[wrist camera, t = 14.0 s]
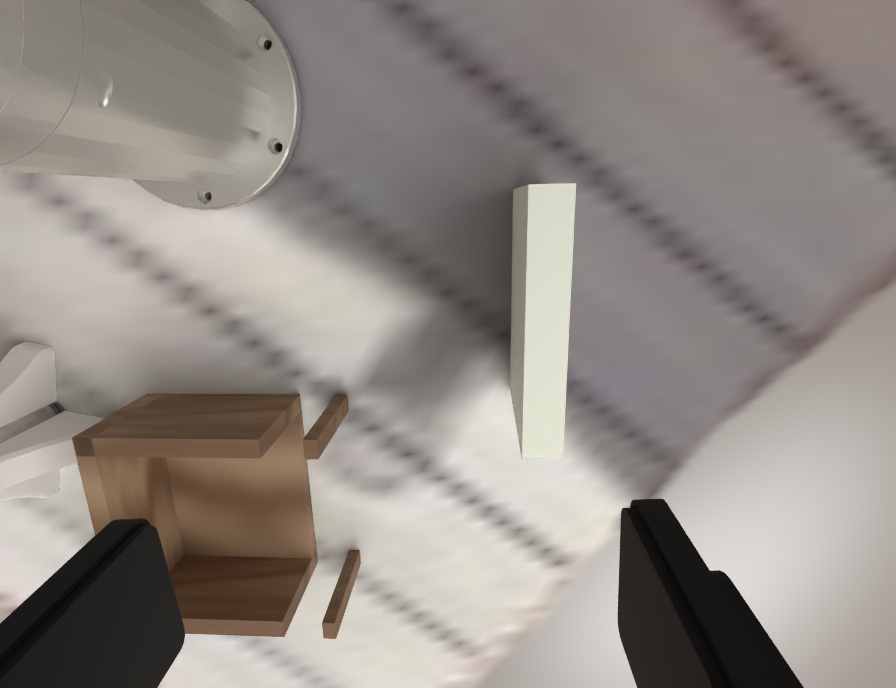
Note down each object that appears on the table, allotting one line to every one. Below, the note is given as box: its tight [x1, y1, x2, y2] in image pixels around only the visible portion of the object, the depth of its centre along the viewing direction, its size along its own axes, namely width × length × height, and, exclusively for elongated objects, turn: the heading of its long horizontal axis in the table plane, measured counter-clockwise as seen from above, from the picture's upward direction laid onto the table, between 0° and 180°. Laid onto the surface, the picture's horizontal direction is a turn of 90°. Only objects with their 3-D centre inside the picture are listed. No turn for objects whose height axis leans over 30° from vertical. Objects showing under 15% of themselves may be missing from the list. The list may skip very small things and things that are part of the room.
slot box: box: [72, 394, 361, 639], centre depth 34 cm, size 14×15×7 cm
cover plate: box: [510, 183, 576, 460], centre depth 28 cm, size 13×2×10 cm, turn 1°
